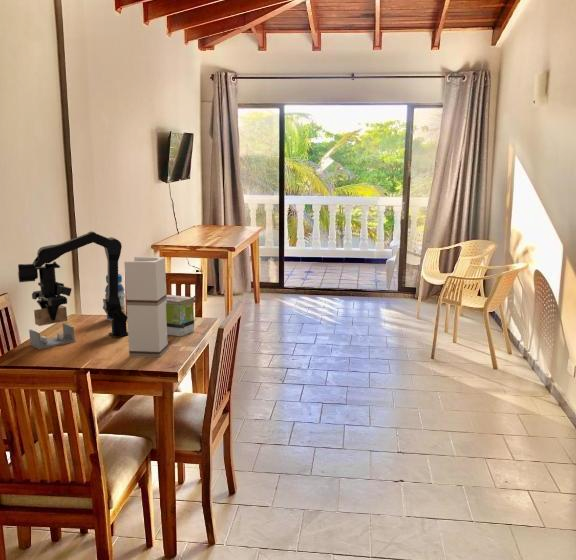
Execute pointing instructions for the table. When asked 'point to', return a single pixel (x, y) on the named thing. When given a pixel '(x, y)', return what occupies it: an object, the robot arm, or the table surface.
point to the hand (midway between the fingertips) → (51, 319)
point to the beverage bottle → (120, 293)
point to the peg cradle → (59, 340)
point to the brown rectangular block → (45, 319)
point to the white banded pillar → (146, 306)
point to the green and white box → (179, 315)
